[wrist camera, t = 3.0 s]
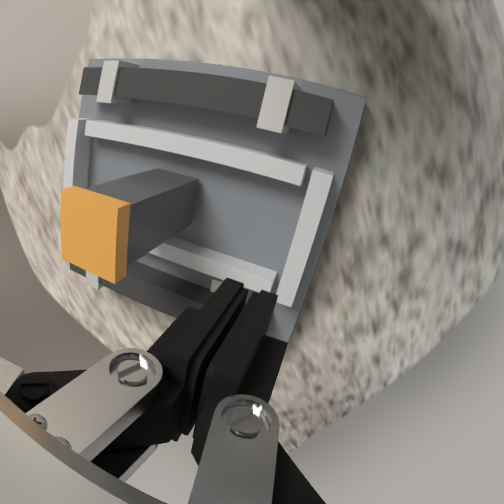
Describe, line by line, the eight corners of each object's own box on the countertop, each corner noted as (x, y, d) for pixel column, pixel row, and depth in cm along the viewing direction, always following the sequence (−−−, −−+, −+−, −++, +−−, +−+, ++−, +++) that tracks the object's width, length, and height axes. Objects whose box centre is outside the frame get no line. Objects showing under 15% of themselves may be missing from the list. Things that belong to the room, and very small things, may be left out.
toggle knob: (155, 164, 18) (60, 189, 11) (202, 176, 17) (117, 208, 11) (148, 214, 19) (62, 258, 12) (193, 228, 19) (114, 284, 12)
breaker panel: (103, 61, 18) (73, 57, 15) (364, 100, 15) (368, 93, 12) (84, 256, 25) (60, 270, 22) (288, 336, 22) (280, 364, 19)
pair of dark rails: (103, 64, 17) (83, 61, 15) (336, 96, 14) (335, 90, 13) (85, 264, 23) (68, 274, 21) (265, 337, 21) (257, 356, 19)
